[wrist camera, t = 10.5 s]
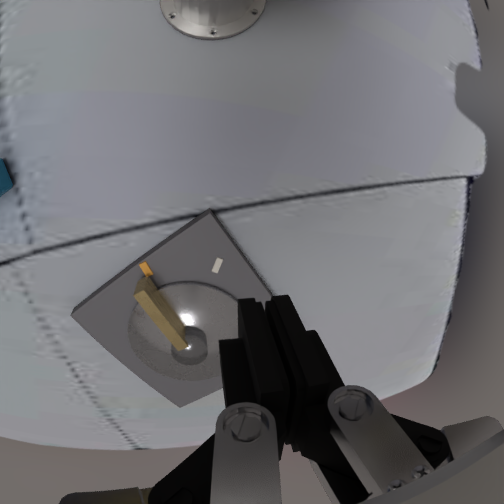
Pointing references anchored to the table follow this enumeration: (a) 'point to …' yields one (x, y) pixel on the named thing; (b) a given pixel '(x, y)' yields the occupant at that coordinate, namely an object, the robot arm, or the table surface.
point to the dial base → (165, 272)
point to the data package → (4, 179)
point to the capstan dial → (181, 328)
